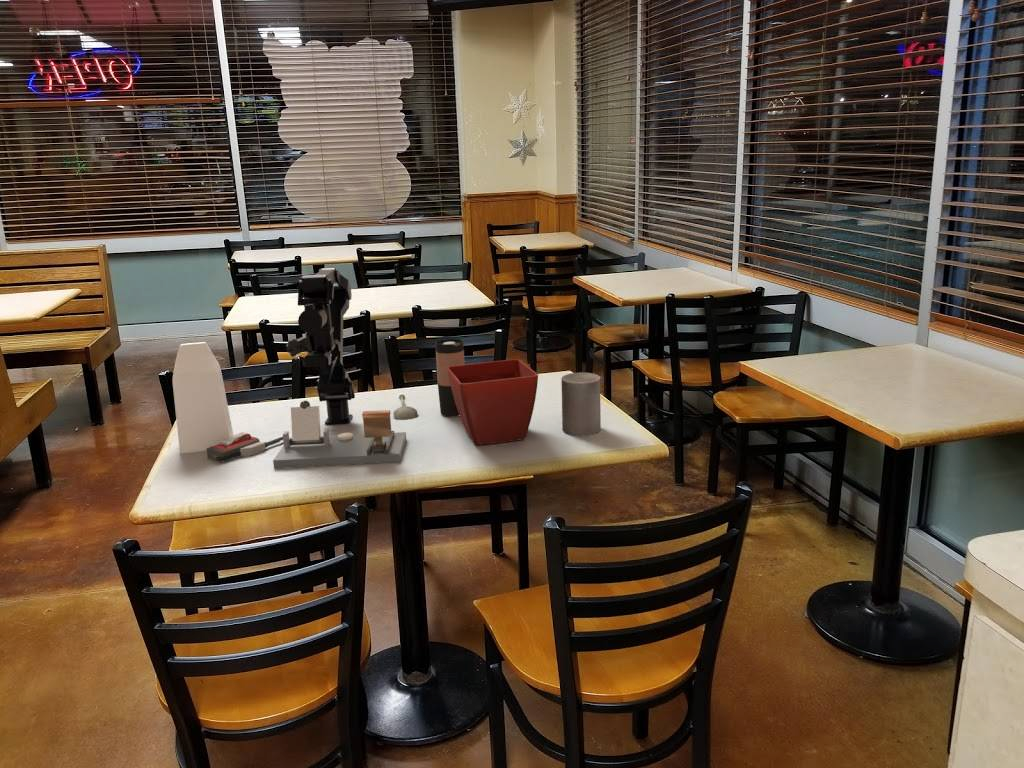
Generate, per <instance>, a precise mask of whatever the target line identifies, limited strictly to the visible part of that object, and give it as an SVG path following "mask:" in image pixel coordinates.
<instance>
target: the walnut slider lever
mask: <svg viewBox="0 0 1024 768" xmlns="http://www.w3.org/2000/svg"><path fill="white" fill-rule="evenodd" d="M361 417H362V420H363V421H362V422H363V431H364V432H363V434H365V438H369V437H375V441H374V443H373V446H372V452H379V451H385V448H386V441H382V437H389V436H391V434H392V432H391V431H392V421H391V409H383V410H380V409H379V410H364V411H362V413H361Z"/></svg>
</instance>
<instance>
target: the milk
mask: <svg viewBox="0 0 1024 768" xmlns="http://www.w3.org/2000/svg"><path fill="white" fill-rule="evenodd" d="M223 378H224V377H223V375H222V369H221V365H220V363H219V361H218V359H217V357H215V355H214V353H213V352H212V350H211V349H210V346H209V345H208V343H207V342H206V341H202V342H201V341H200V342H190V343H181V344H180V345H179V348H178V351H177V353H176V358H175V363H174V368H173V372H172V388H173V398H174V399H173V400H174V409H175V417H176V419H175V420H176V427H177V437H178V447H179V449H178V450H179V454H180V453H182V454H189V453H197V451H198V452H205V451H206V452H207V448H209V447H212V446H215V445H218V444H220V441H227V440H228V439H229V438H230V436H233V435H234V431H233V426H232V420H231V416H230V415H231V414H230V411H229V410H230V409H229V406H228V398H227V395H226V394H227V393H226V390H225V389H226V388H225V384H224V383H225V382H224V379H223Z"/></svg>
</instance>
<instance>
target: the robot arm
mask: <svg viewBox="0 0 1024 768" xmlns="http://www.w3.org/2000/svg"><path fill="white" fill-rule="evenodd" d="M298 280H299V279H298ZM297 291H298V292H297V306H299V307H300V306H303V307H304V308H303V309H304V310H303V311H302V312H301V313H300V314H299V316H298V319H297V323H298V326H299V328H300V329H301V330H302V331H303V332H304V333H305V335H304V336H302V337H299V338H297V339H296V338H293V339H291V340H289V341H287V344H286V345H285V347H286V353H289V355H290V357H291V358H294V357H296V356H297V355H298V354H302V353H303V352H306V353H307V354H305V356H304V357H303V358H302V365H303V367H304V368H313V367H314V368H315V369H316V371H317V372H318V375H319V376H318V379H317V380H316V390H317V395H318V399H319V400H318V401H319V402H326V403H325V404H326V411H327V412H326V413H327V418H326V420H325V422H324V424H325V425H337V424H349V423H350V422H351V420H352V419H353V414H351V413H350V411H349V409H350V408H349V401H351V400H352V399H353V400H354V399H355V398H356V393H355V388H354V385H353V382H352V381H351V378H350V377H349V374H348V372H347V370H346V369H345V367H344V363H343V361H344V359H343V357H344V352H343V351H344V316H345V314H346V313H347V312H348V311H349V309H350V300H352V288H351V285H350V282H349V279H347V278H346V277H345V276H344V275H342V274H341V273H340V270H339V268H336V267H325V268H324V267H323V268H320V269H318V272H317V273H315V274H311V275H310V274H309V275H302V276H301V278H300V280H299V281H298V290H297Z"/></svg>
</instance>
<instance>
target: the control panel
mask: <svg viewBox="0 0 1024 768" xmlns="http://www.w3.org/2000/svg"><path fill="white" fill-rule="evenodd" d="M391 432H392V434H391V436H389V437H382V441H386V448H385V451H379V452H372V446H373V443H374V441H375V437H369V438H365V434H364V433H361V434H353V433H352V432H343V433H339V434H337V435H330V432H329V429H327V428H326V429H325V428H324V431H323V432H322V433H323V435H321V437H324V444H310V445H290V444H289V439H292V437H290V432H289V430H287V431H284V432H283V433H282V437H283V440H282V441H283V446H282V447H281V449H280V450H279V451H278V453H277V454H276V455H275V457H274V458H273V460H272V463H273V469H286V468H285V467H294V468H307V467H306V466H314V467H328V466H327V465H334V466H349V465H348V464H354V465H367V464H366V463H374V464H390V463H392V462H393V463H401V461H400V460H402V456H403V454H404V450H405V446H406V442H407V432H406V431H403V432H401V431H399V432H395V430H391ZM402 453H403V454H402ZM393 463H392V464H393ZM345 464H347V465H345ZM323 465H324V466H323ZM325 465H326V466H325Z"/></svg>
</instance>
